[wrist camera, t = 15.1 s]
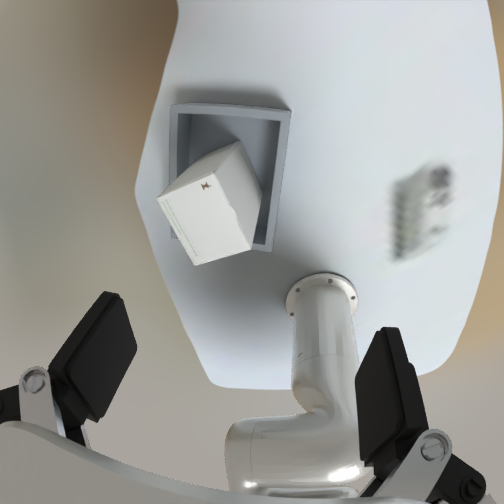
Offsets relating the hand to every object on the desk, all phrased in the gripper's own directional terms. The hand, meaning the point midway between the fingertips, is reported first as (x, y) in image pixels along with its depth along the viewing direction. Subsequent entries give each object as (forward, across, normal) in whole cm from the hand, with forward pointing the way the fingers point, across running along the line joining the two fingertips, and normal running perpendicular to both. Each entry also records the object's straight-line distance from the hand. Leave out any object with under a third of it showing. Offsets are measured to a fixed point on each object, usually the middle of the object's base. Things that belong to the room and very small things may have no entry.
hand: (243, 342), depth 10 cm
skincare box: (+32, +6, +3) cm, 32 cm away
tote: (+32, +7, +3) cm, 33 cm away
